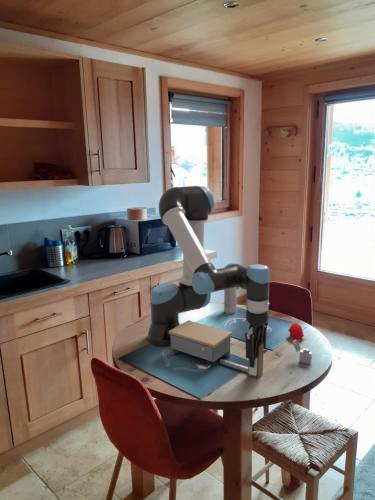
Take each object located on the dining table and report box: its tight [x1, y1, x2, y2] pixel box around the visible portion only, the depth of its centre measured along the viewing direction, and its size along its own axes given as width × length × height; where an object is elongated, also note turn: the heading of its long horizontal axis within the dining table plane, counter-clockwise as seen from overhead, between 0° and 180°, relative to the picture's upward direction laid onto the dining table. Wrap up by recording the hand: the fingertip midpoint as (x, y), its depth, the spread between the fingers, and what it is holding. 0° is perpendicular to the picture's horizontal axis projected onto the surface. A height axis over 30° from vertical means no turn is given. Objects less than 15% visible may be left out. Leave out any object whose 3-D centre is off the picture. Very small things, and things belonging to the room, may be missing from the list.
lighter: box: [292, 340, 313, 365], centre depth 145 cm, size 7×2×8 cm, turn 58°
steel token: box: [196, 360, 211, 370], centre depth 143 cm, size 5×5×1 cm
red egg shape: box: [287, 322, 305, 342], centre depth 164 cm, size 8×6×6 cm
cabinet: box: [169, 319, 233, 363], centre depth 149 cm, size 21×14×10 cm, turn 54°
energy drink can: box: [223, 287, 237, 315], centre depth 193 cm, size 6×6×15 cm
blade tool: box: [219, 342, 265, 379], centre depth 139 cm, size 16×4×12 cm, turn 54°
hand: (255, 371), depth 136 cm, fingers closed on blade tool, 3 cm apart
